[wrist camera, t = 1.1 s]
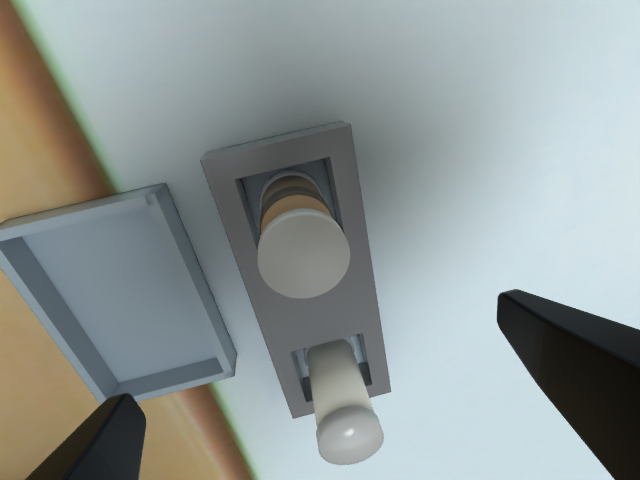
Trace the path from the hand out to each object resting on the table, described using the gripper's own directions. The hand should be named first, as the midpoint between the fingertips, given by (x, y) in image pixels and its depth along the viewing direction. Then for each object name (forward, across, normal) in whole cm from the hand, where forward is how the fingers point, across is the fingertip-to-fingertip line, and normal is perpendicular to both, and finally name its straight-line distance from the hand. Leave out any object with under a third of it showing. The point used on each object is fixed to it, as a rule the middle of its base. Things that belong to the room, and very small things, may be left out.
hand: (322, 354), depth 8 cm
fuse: (+12, 0, +11) cm, 16 cm away
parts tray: (+12, +10, +4) cm, 16 cm away
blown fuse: (+12, 0, 0) cm, 12 cm away
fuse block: (+12, 0, +6) cm, 13 cm away
